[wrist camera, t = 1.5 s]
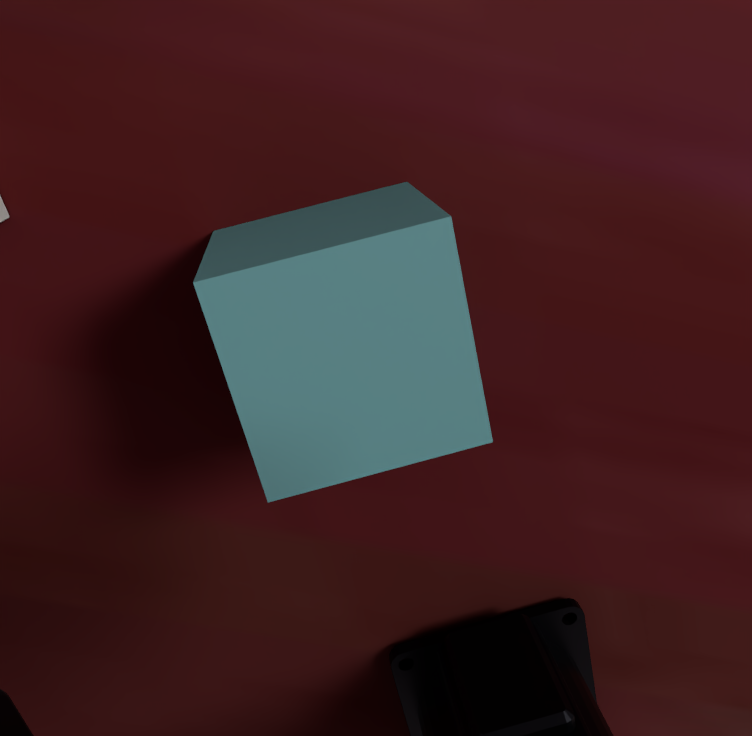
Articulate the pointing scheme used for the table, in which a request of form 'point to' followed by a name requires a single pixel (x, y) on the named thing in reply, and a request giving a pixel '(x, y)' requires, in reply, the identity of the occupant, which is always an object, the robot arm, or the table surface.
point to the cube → (345, 338)
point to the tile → (3, 211)
